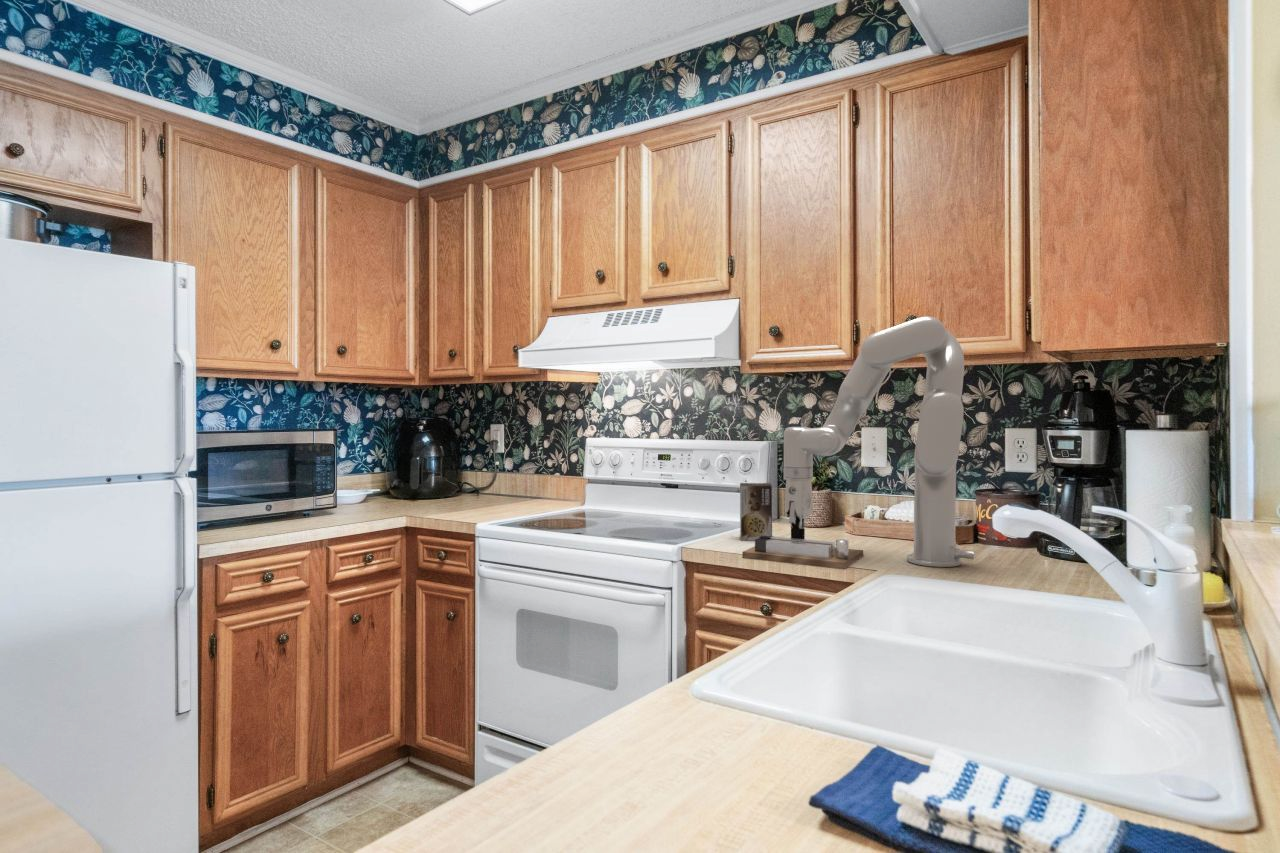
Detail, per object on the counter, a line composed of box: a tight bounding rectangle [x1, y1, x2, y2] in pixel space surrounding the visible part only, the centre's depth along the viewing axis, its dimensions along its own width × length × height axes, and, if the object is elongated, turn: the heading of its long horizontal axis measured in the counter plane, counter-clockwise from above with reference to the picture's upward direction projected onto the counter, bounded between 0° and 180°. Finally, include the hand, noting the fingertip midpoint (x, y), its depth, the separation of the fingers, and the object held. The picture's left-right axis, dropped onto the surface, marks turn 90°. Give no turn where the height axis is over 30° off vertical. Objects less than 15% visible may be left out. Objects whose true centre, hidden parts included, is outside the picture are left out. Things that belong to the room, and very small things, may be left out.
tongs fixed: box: [754, 538, 849, 560], centre depth 187 cm, size 23×4×4 cm, turn 60°
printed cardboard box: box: [739, 482, 773, 542], centre depth 217 cm, size 9×6×16 cm
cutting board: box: [741, 546, 864, 570], centre depth 191 cm, size 26×18×2 cm
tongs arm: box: [759, 535, 836, 556], centre depth 190 cm, size 19×2×3 cm, turn 60°
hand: (797, 543), depth 197 cm, fingers closed
